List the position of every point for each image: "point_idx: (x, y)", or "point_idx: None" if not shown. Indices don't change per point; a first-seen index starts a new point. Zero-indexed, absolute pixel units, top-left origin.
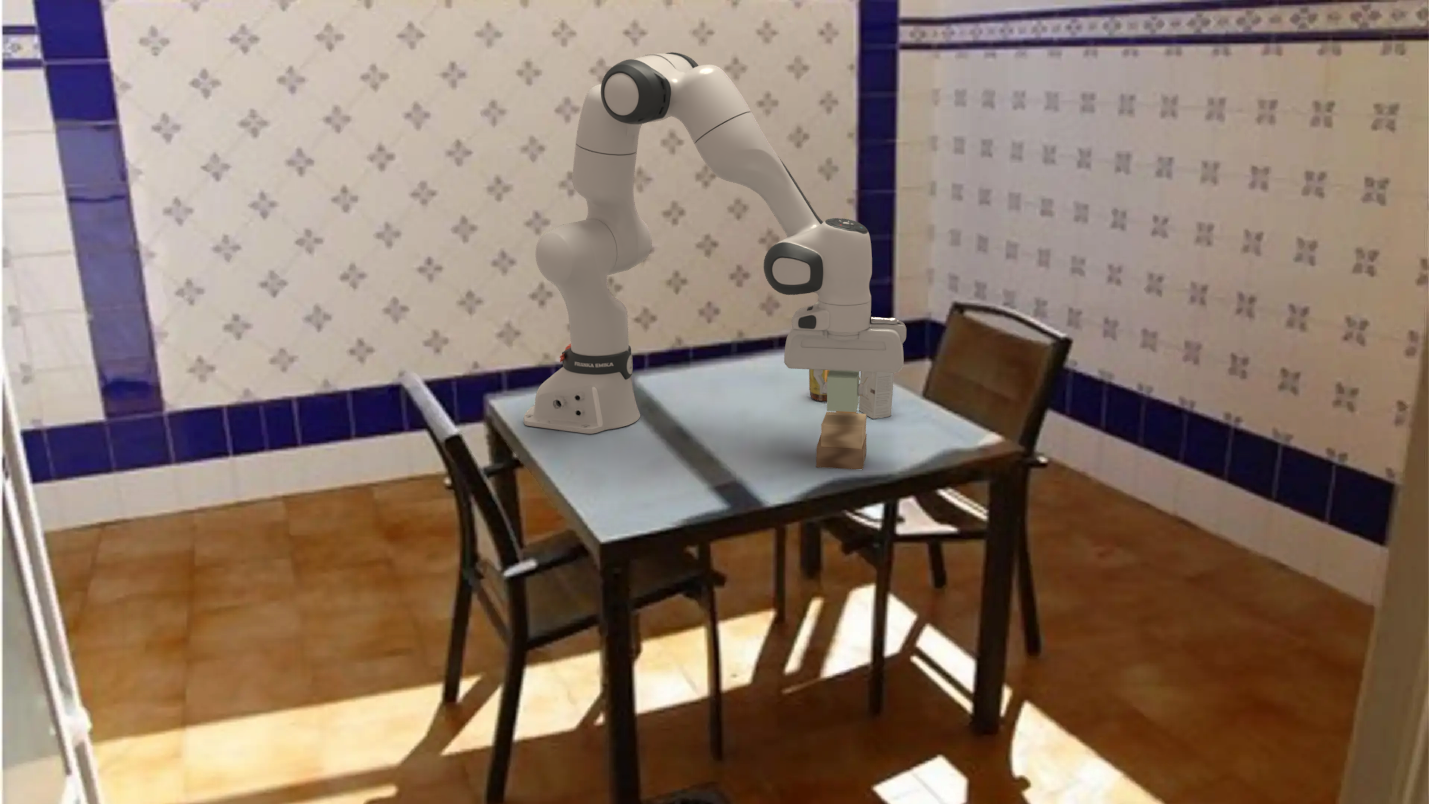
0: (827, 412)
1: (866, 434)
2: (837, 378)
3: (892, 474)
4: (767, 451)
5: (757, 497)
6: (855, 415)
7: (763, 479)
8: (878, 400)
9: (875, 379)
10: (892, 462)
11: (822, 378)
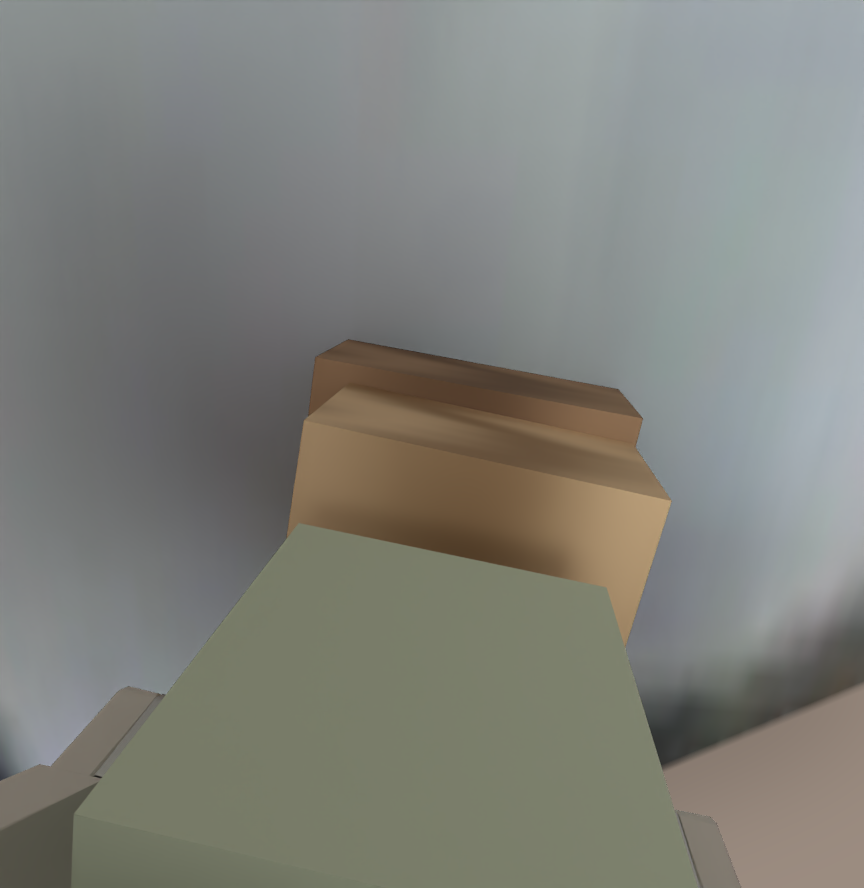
0: (311, 442)
1: (641, 422)
2: None
3: (706, 699)
4: (41, 337)
5: None
6: (560, 538)
7: (73, 705)
8: None
9: None
10: (748, 539)
11: (32, 838)
